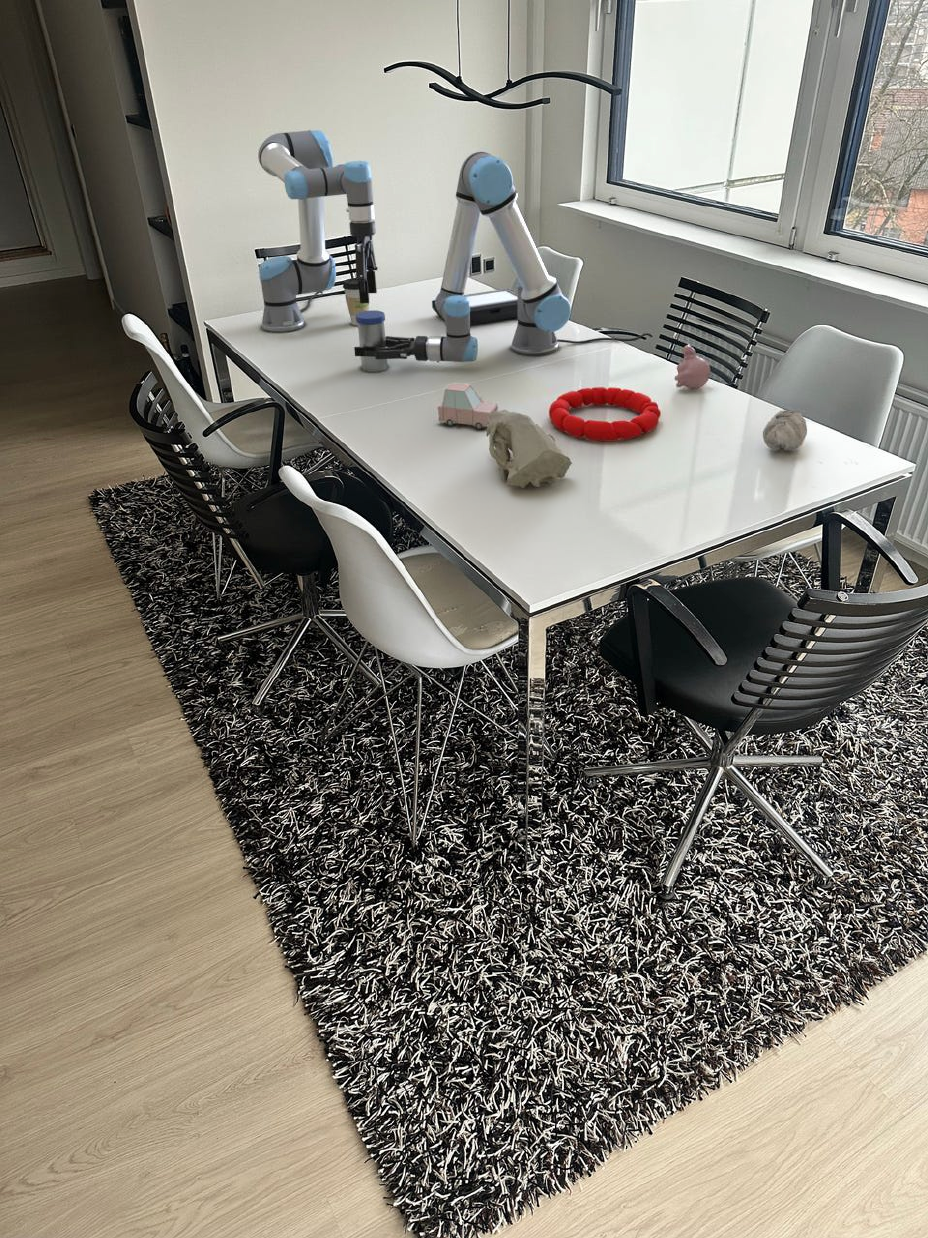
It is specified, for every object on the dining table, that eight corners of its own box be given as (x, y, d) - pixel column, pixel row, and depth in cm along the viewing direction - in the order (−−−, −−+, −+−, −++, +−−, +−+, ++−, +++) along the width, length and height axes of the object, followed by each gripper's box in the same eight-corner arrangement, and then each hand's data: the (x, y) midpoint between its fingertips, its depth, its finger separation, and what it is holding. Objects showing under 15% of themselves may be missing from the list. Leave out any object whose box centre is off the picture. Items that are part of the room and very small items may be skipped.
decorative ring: (589, 435, 224) (684, 402, 234) (527, 398, 247) (617, 369, 256) (589, 461, 229) (683, 427, 238) (529, 422, 251) (617, 393, 260)
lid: (390, 320, 277) (390, 314, 276) (365, 326, 273) (364, 320, 272) (375, 314, 283) (375, 308, 282) (350, 320, 279) (350, 314, 278)
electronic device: (453, 311, 314) (431, 298, 329) (454, 329, 317) (432, 315, 332) (533, 299, 324) (509, 286, 339) (533, 316, 327) (509, 303, 342)
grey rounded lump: (746, 448, 227) (752, 410, 221) (789, 435, 232) (796, 398, 227) (776, 462, 219) (783, 424, 213) (820, 449, 225) (828, 411, 219)
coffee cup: (372, 326, 323) (368, 283, 314) (345, 327, 323) (340, 284, 315) (374, 318, 331) (371, 276, 322) (348, 319, 331) (344, 277, 323)
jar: (392, 368, 285) (388, 316, 276) (370, 373, 282) (365, 321, 272) (379, 361, 291) (374, 310, 282) (357, 367, 287) (352, 315, 278)
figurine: (665, 387, 264) (669, 347, 257) (693, 380, 268) (698, 340, 261) (686, 396, 257) (690, 355, 250) (714, 388, 262) (720, 348, 255)
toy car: (488, 432, 240) (488, 396, 234) (436, 426, 244) (434, 390, 239) (499, 419, 247) (499, 384, 241) (448, 413, 252) (447, 379, 246)
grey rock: (496, 517, 219) (521, 479, 201) (463, 429, 225) (484, 384, 207) (557, 503, 225) (586, 465, 206) (523, 417, 231) (549, 373, 212)
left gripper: (357, 212, 271) (364, 287, 284) (340, 228, 252) (348, 308, 265) (382, 212, 270) (387, 287, 283) (366, 228, 252) (372, 308, 264)
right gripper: (422, 371, 274) (351, 369, 277) (435, 349, 291) (367, 348, 294) (421, 347, 269) (348, 345, 273) (434, 326, 286) (365, 325, 290)
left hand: (368, 297), depth 274 cm, fingers open, 11 cm apart
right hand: (358, 346), depth 283 cm, fingers closed on jar, 8 cm apart
